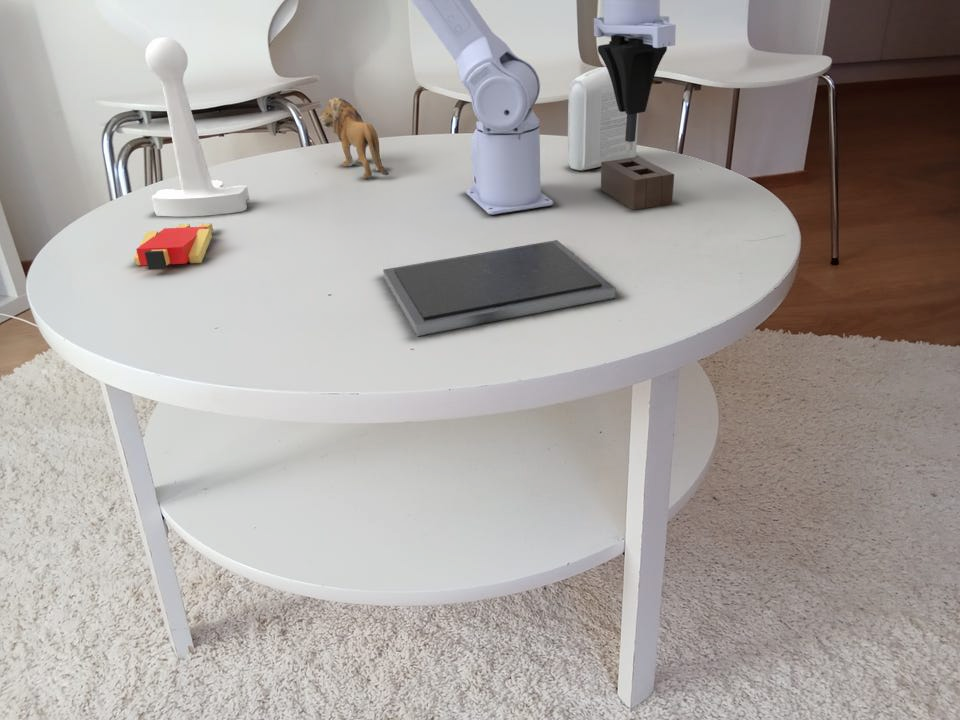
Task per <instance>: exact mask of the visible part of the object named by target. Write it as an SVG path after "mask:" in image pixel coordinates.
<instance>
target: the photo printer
mask: <svg viewBox="0 0 960 720" xmlns="http://www.w3.org/2000/svg"><path fill="white" fill-rule="evenodd" d="M567 101H568V103H567V104H568V106H567V109H568V110H567V111H568V112H567V114H568V115H567V164H568V165H569V167H570V168H571V169H572V170H575V171H586V170H591V169H596V168H601V162H605V161H613V160H619V159H626V158H627V159H628V158H632V157H637V149H638V148H637V147H638V146H637V143H638V126H639V113H637V123H636V135H635V141H633V145H632V150H627V141H625V135H626V121H627V114H626V112H620V111H619V109H618V105H617V102H616V98H615V93H614V89H613V85H612V82H611V78H610V75H609V72H608V70H607V67H606V66H602V67H596V68H594V69H590V70H588V71H586V72H584V73H582V74H580V75H578V76H576V78H575V79H573V80H572V81H571V83H570V85H569V88H568V100H567Z"/></svg>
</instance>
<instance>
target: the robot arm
mask: <svg viewBox="0 0 960 720" xmlns="http://www.w3.org/2000/svg"><path fill="white" fill-rule="evenodd" d="M411 2H412V3H413V5H414V6H415V7H416V9H417V10H418V11H419V12H420V14H421V15H422V17H423V18H424V20H425V21H426V22H427V24H428V25H429V26H430V28H431V29H432V31H433V32H434V33H435V35H436V36H437V38H438V39H439V40H440V42H441V43H442V44H443V46H444V47H445V49H446V50H447V51H448V53H449V54H450V55H451V57H452V58H453V60H454V61H455V63H456V66H457V70H458V74H459V78H460V82H461V83H462V84H463V86H464V87H465V89H466V91H467V92H468V94H469V97H470V100H471V106H472V110H473V113H474V115H475V117H476V118H477V121H476V122H475V123H476V125H475V126H476V127H475V128H476V129H474V132H473V133H472V137H471V141H470V153H471V154H470V155H471V171H472V172H471V173H472V186H473V187H472V188H467V189H466V190H465V193H466V195H467V196H468V197H469V198H471V199H472V200H473V201H474V202H475V203H476V204H477V205H478V206H479V207H480V208H482V210H484V211H485V212H486V213H487V214H488V215H492V216H493V215H498V214H506V213H511V212H517V211H525V210H530V209H531V210H532V209H537V208H544V207H551V206H552V205H554V201H553V199H551V198H550V197H548V196H547V195H546V194H544V193H542V192H541V140H540V139H541V132H540V131H541V130H540V129H541V128H540V124H541V122H540V119H539V118H538V117H537V115H536V114H535V112H534V110H533V109H532V107H533V106H534V105H535V104H536V102H537V100H539V99H538V98H539V96H540V91H541V81H540V77H539V75H538V73H537V71H536V70H535V68H534V67H533V66H532V65H531V64H530V62H528V61H526V60H524V59H522V58H520V57H518V56H517V55H516V54H515V53H514V52H513V50H511V48H510V47H509V45H508V44H507V43H506V42H505V41H503V39H501V38H500V37H499V36H498V35H496V34H495V33H494V32H493V31H492V29H491V28H490V26H489V25H488V24H487V22H486V21H485V19H484V18H483V16H482V15H481V14H480V12H479V11H478V10H477V8H476V6H475V5H474V3H473V2H472V1H471V0H411ZM602 2H603V16H601V17H600V16H599V17H594V18H593V37H596V38H602V37H605V38H610V40H609V42H608V43H605V44H600V45H598V46H597V52H598V54H599V56H600V57H601V59H602V61H603V63H604V65H605V67H607V70H608V72H609V75H610V78H611V82H612V85H613V89H614V93H615V98H616V102H617V105H618V109H619V111H620V112H626V114H628V115H630V114H636V113H638V114H641V113H645V112H646V111H647V107H648V103H649V98H650V94H651V89H652V86H653V82H654V79H655V75H656V72H657V71H658V68H659V66H660V64H661V61H662V60H663V57H664V56H665V54H666V53H667V50H668V47H673V46H676V29H677V28H676V27H677V26H676V24H675V23H670V16H669V15H661V0H603V1H602Z"/></svg>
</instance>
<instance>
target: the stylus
mask: <svg viewBox="0 0 960 720" xmlns="http://www.w3.org/2000/svg"><path fill="white" fill-rule="evenodd" d="M636 123H637V113H636V114H630V115H628V114H627V121H626V135H625V141H627V150H632V145H633V141H635V135H636Z"/></svg>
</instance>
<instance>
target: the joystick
mask: <svg viewBox="0 0 960 720" xmlns="http://www.w3.org/2000/svg"><path fill="white" fill-rule="evenodd" d="M144 56H145V62H146V65H147V67H148V68H149V71H151V72H152V73H153V74H154V75H155V76H156V77H157V78H158V80H159V82H160V83H161V84H160V85H161V87H162V92H163V98H164V102H165V108H166V113H167V118H168V124H169V129H170V135H171V140H172V145H173V146H172V147H173V151H174V156H175V157H174V158H175V162H176V168H177V173H178V178H179V183H180V189H171V188H162V189H159V190H158V191H156V193H154V194H153V195H152V196H151V197H150V198H151V202H152V205H153V210H154V212H155V215H156V216H158V217H184V218H185V217H204V216H205V217H207V216H217V215H226V214H232V213H240V212H244V211H246V210H247V209H248V207H247V206H248V205H247V202H250V200H251V198H250V195H249V190H248V185H247V184H240V185H239V184H238V185H233V186H227V187H225V186H224V182H223V181H222V180H217V179H211V176H210V175H211V174H210V171H209V168H208V165H207V161H206V157H205V154H204V150H203V147H202V144H201V140H200V136H199V133H198V130H197V126H196V122H195V119H194V116H193V112H192V109H191V105H190V101H189V98H188V96H187V95H188V94H187V90H186V87H185V84H184V75H185V72H186V70H187V68H188V63H189V59H188V54H187V52H186V50H185V48H184V47H183V46H182V44H181V43H180V42H179V41H177V40H176V39H173V38H172V37H171V38H170V37H167V36H163V37H162V36H161V37H157V38H155V39H153V40H151V41H150V42H149V44H148V45H147V47H146V50H145V54H144Z"/></svg>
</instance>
